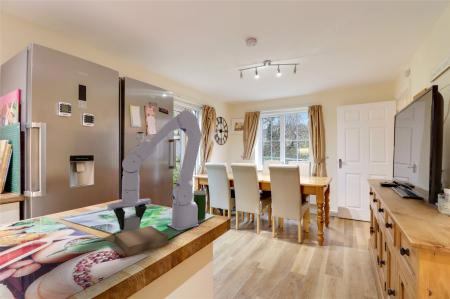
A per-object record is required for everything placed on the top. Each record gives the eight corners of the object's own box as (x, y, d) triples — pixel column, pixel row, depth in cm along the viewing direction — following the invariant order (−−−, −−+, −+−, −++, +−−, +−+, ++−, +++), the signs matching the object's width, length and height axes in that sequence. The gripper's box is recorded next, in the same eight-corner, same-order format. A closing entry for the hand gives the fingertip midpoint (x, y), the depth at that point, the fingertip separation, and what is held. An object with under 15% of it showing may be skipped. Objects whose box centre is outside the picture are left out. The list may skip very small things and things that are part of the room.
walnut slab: (150, 234, 78) (150, 225, 78) (167, 245, 69) (168, 236, 69) (114, 243, 70) (114, 234, 70) (128, 257, 61) (128, 247, 61)
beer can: (196, 222, 90) (196, 193, 90) (190, 218, 95) (191, 190, 95) (207, 220, 93) (208, 191, 93) (201, 216, 98) (202, 189, 98)
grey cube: (134, 227, 83) (134, 214, 83) (139, 231, 79) (139, 217, 79) (119, 231, 79) (120, 217, 79) (125, 235, 76) (125, 220, 76)
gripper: (145, 185, 87) (144, 220, 87) (105, 189, 77) (104, 228, 77) (153, 188, 82) (153, 225, 82) (111, 192, 72) (110, 234, 72)
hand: (129, 227), depth 79 cm, fingers closed on grey cube, 5 cm apart
